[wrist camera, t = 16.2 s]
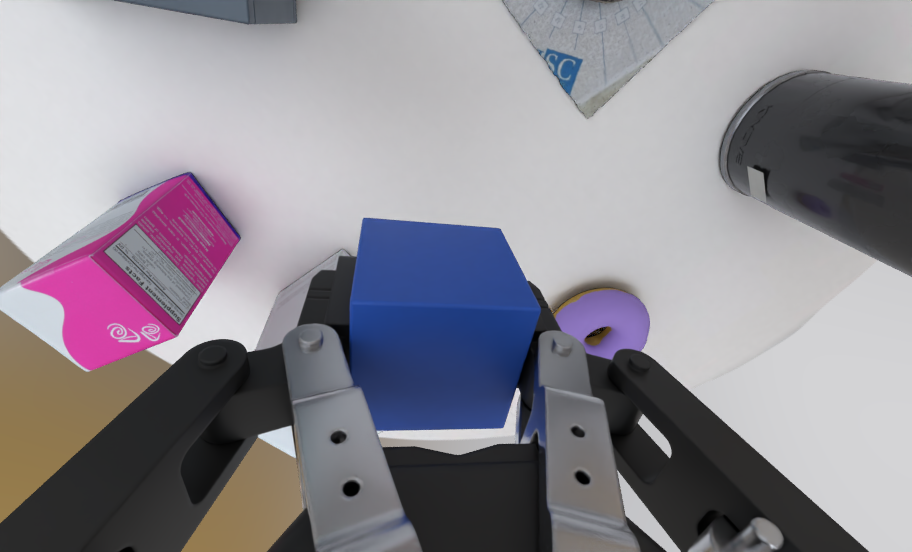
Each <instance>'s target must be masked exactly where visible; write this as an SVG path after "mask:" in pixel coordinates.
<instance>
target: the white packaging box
mask: <svg viewBox="0 0 912 552" xmlns="http://www.w3.org/2000/svg"><path fill="white" fill-rule="evenodd" d="M339 256H350V255H349V254H348V253H347V252H346V251H345V250H343V249H342V250H340V251H339V252H337V253H336V254H335V255H333V256H331V257H330V258H329V259H327V260H326V261H324V262H323V263H322V264H320V265H318V266H317V267H316V268H314V269H313V270H311V271H310V272H308V273H307V274H306V275H304V276H303V277H301V278H300V279H298V280H297V281H295V282H294V283H293V284H291V285H290V286H288V287H287V288H285V289H284V290H283V291H281V292H280V293H279V294H278V295H277V297H276V300H275V303H274V305H273V308H272V310H271V312H270V315H269V317H268V320H267V322H266V325H265V327H264V330H263V332H262V334H261V337H260V339H259V342H258V344H257V347H256V349H255V351H257V350H262V349H266V348H271V347H274V346H276V345H279V344H281V343H282V341H283V338H284V336H285V335H286V334H287V333H288V332H289V331H290V330H292V329H294V328H296V327H297V324H298V321H299V318H300V314H301V311H302V308H303V305H304V302H305V299H306V295H307V292H308V290H309V286H310V283H311V280H312V278H313V277H314V276H315V275H316V274H317V273H318V272H319V271H320V270H336V267H337V262H338V258H339ZM381 432H383V431H377V434H379V433H381ZM258 438H261V439H262V440H264V441H266V442H267V443H269V444H271V445H273V446H274V447H276V448H278V449H280V450H282V451H283V452H285V453H287V454H289V455H291V456H292V457H294V458H296V455H295V448H294V441H293V434H292V428H291V426H288V427H284V428H281V429H277V430H274V431H270V432H267V433H263V434H260V435H258Z"/></svg>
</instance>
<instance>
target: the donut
mask: <svg viewBox="0 0 912 552" xmlns="http://www.w3.org/2000/svg"><path fill="white" fill-rule="evenodd" d="M553 316H554V317H555V319H556V321H557V323H558V325H559V327H560V328H561V330H562V332H565V333H568V334H570V335H572V336H573V337H575V338H576V339H578V340H579V341H580V342H581V343H582V344H583V346H584V348H585V351H586V353H588V354H591V355H595V356H599V357H603V358H607V359H611V360H612V358H613V356H614V354H615V353H616V351H618V350H620V349H633V350H637V351H641V350H642V349H643V348H644V346H645V344H646V341H647V337H648V333H649V326H650V319H649V314H648V312H647V309H646V307H645V305H644V304H643V303H642V302H641V301H640V300H639V299H638V298H637V297H635V296H634V295H632V294H629V293H627V292H625V291H622V290H618V289H614V288H599V289H593V290H589V291H585V292H582V293H580V294H578V295H576V296H574V297H572V298H571V299H569V300H568V301H566V302H565V303H563V304H562V305H561V306H560V307H559V308H558V309H557V310H556V312H555V313H554V314H553ZM606 326H607V327H606ZM601 327H606V328H605V329H604V330H603V331H602V332H601V333H599V334H598V335H595V336H593V337H589V338H586V336H587V335H588V334H589V333H591V332H593V331H594V330H596V329H598V328H601Z"/></svg>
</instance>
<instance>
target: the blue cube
mask: <svg viewBox="0 0 912 552" xmlns="http://www.w3.org/2000/svg"><path fill="white" fill-rule="evenodd" d="M540 313H541V307H540V305H539V303H538V301H537V299H536V297H535V296H534V294H533V292H532V290H531V288H530V286H529V284H528V282H527V280H526V278H525V276H524V274H523V272H522V270H521V268H520V266H519V264H518V262H517V260H516V258H515V256H514V254H513V252H512V250H511V248H510V247H509V245H508V243H507V241H506V239H505V237H504V235H503V233H502V231H501V229H499V228H489V227H476V226H463V225H451V224H438V223H425V222H412V221H400V220H387V219H374V218H364V219H363V221H362V227H361V233H360V240H359V246H358V253H357V259H356V265H355V272H354V278H353V285H352V291H351V297H350V333H349V370H350V373H351V376H352V379H353V382H354V385H358V384H359V385H360V386H361V388H362V390H363V393H364V396H365V399H366V402H367V404H368V407H369V410H370V413H371V416H372V419H373V422H374V425H375V428H376V431H393V430H443V429H494V428H503V427H504V425H505V422H506V418H507V415H508V412H509V409H510V406H511V403H512V400H513V397H514V393H515V390H516V387H517V384H518V381H519V378H520V375H521V372H522V369H523V365H524V362H525V359H526V356H527V353H528V350H529V347H530V344H531V341H532V337H533V334H534V331H535V328H536V325H537V322H538V319H539V316H540Z"/></svg>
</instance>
